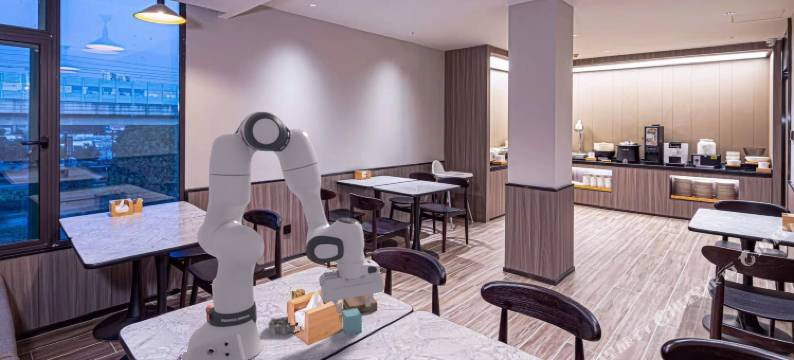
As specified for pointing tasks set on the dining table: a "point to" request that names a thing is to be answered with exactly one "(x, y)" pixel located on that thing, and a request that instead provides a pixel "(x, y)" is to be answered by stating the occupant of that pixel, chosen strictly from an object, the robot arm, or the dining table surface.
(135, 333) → the dining table surface
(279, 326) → the egg carton
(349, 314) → the teal block
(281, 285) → the dining table surface
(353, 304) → the walnut plinth
